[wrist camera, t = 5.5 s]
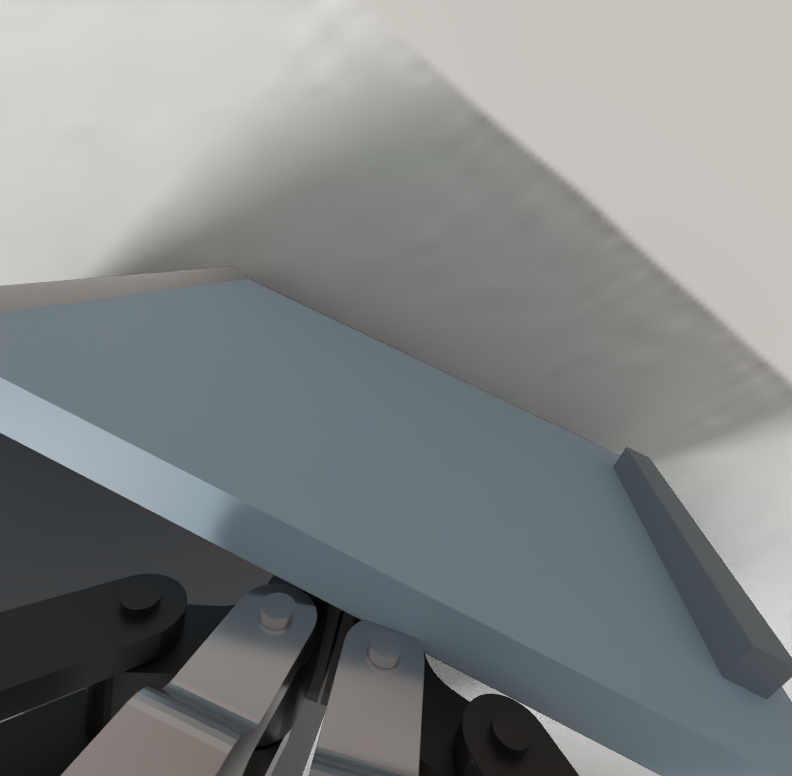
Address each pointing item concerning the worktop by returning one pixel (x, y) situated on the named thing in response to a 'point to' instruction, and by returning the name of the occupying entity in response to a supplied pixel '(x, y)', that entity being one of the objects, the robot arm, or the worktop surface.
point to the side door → (405, 506)
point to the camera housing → (113, 555)
